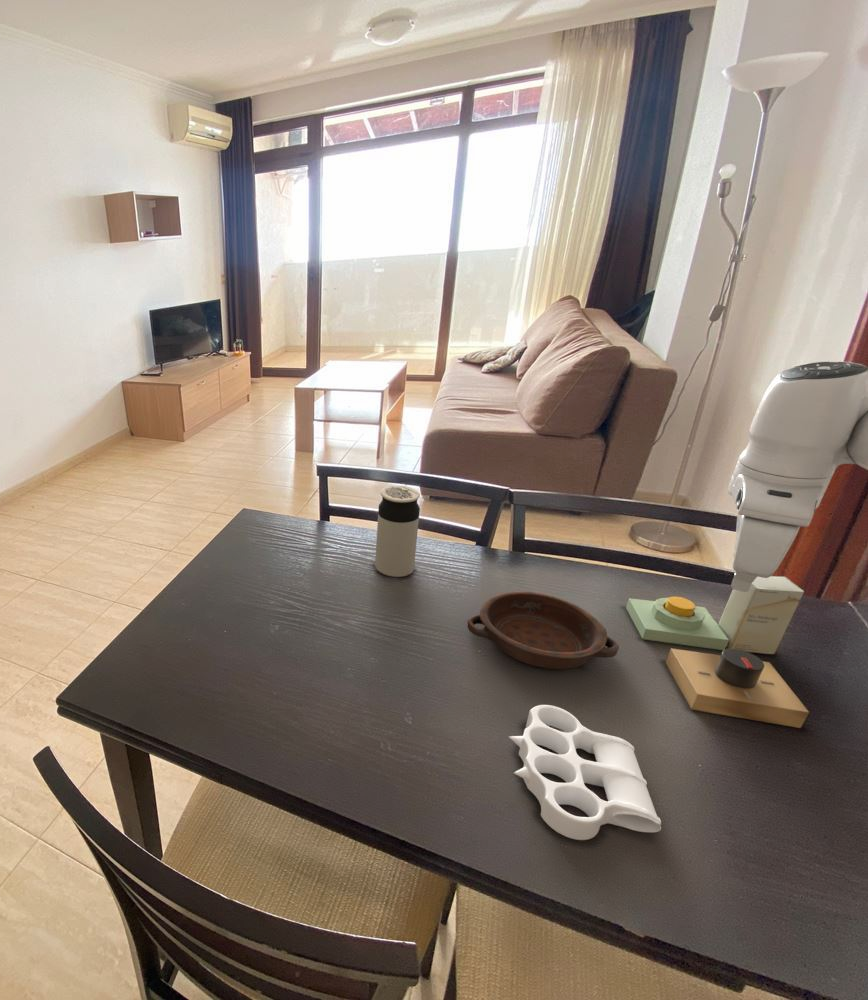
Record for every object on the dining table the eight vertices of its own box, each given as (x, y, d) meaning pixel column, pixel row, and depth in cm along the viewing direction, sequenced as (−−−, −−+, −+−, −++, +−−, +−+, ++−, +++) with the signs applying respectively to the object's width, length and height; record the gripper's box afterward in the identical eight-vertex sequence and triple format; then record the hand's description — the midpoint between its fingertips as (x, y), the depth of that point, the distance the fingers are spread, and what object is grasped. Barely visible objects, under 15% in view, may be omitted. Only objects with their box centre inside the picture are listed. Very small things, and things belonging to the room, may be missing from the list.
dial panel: (762, 677, 82) (770, 661, 80) (800, 728, 73) (810, 711, 72) (665, 662, 86) (671, 647, 85) (691, 709, 78) (698, 693, 76)
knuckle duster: (666, 865, 59) (516, 824, 65) (621, 737, 74) (502, 712, 80) (675, 846, 58) (520, 805, 63) (627, 719, 73) (505, 695, 78)
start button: (687, 606, 92) (690, 598, 92) (696, 619, 89) (699, 610, 89) (661, 603, 94) (664, 595, 93) (669, 615, 91) (672, 607, 90)
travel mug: (387, 581, 112) (393, 504, 105) (368, 562, 119) (372, 488, 112) (421, 573, 114) (429, 496, 106) (399, 555, 121) (406, 482, 113)
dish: (462, 604, 103) (465, 582, 101) (598, 622, 96) (604, 599, 94) (469, 666, 89) (473, 642, 87) (630, 693, 81) (639, 667, 79)
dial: (709, 664, 81) (717, 644, 79) (747, 670, 79) (756, 650, 78) (722, 684, 77) (731, 664, 76) (762, 691, 76) (771, 670, 74)
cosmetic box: (728, 651, 87) (755, 589, 82) (712, 633, 91) (736, 573, 86) (776, 655, 86) (806, 591, 80) (758, 636, 89) (785, 575, 84)
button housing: (700, 617, 95) (708, 598, 93) (724, 650, 87) (733, 631, 86) (625, 607, 99) (631, 589, 97) (642, 639, 91) (648, 620, 89)
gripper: (744, 457, 81) (714, 537, 86) (741, 508, 67) (706, 598, 73) (805, 465, 77) (769, 549, 82) (814, 521, 63) (771, 615, 69)
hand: (739, 573), depth 78 cm, fingers open, 8 cm apart
